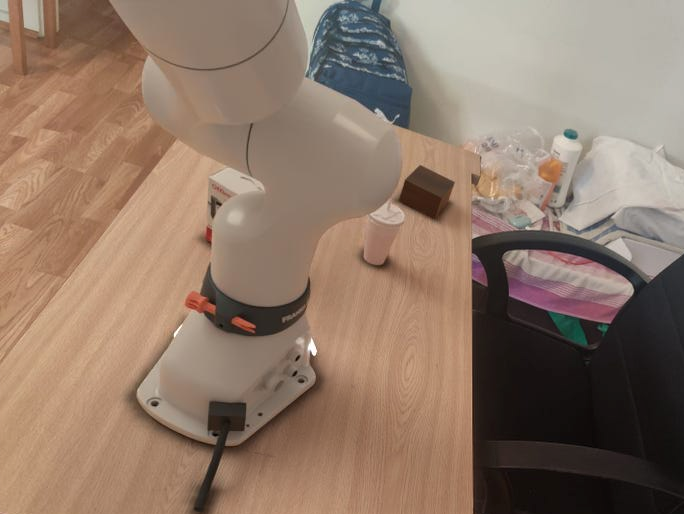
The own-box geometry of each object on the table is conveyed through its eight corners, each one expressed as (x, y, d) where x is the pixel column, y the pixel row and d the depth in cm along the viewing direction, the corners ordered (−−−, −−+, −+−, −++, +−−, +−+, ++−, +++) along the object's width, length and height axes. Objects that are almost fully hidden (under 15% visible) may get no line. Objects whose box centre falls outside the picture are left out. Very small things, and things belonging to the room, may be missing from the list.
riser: (434, 219, 120) (441, 197, 116) (398, 201, 120) (404, 179, 116) (447, 202, 126) (455, 182, 122) (413, 185, 125) (419, 164, 122)
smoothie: (395, 254, 108) (415, 187, 98) (388, 274, 103) (408, 206, 94) (360, 242, 107) (377, 173, 97) (351, 262, 102) (368, 192, 93)
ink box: (203, 239, 94) (205, 174, 86) (225, 227, 97) (229, 163, 89) (249, 267, 93) (255, 203, 85) (270, 254, 97) (277, 192, 89)
